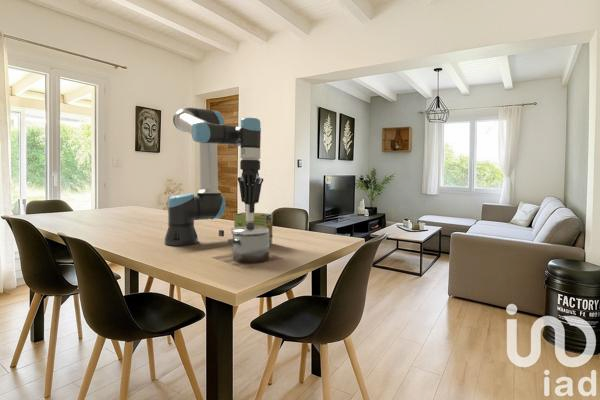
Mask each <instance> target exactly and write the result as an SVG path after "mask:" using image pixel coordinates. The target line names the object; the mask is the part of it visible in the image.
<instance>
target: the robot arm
mask: <svg viewBox="0 0 600 400" xmlns="http://www.w3.org/2000/svg"><path fill="white" fill-rule="evenodd" d="M172 121H173V122H172V123H173V125H174V127H175V128H176V129H177V130H179V131H180V132H182V133H188V134H190V135H191V138H192V140H193V142H196V143H199V145H198V146H199V187H200V188H199V189H198V191H197V192H196V196H195V195H194V193H181V194H174V195H171V196H169V198H168V200H167V215H168V217H167V219H168V220H167V221H168V222H167V223H168V224H167V225H168V226H167V230H166V233H165V236H164V245H167V246H176V247H177V246H191V245H194V244H197V243H198V242H199V237H198V234H197V231H196V228H195V221H201V220H214V219H215V220H217V219H220V218H222V217H223V215H224V214H225V211H226V198H225V196H224V195H222V192H221V191H220V190H219V178H218V177H219V175H218V174H219V173H218V171H219V169H218V164H219V163H218V144H220V145H230V146H235V147H240V160H239V161H240V162H239V165H240V166H239V167H240V168H239V169H240V170H242V171H241V176H240V177H239V176H238V177H237V182H238V185H239V193H240V198H241V199H240V200H241V202H242V203H244V205H245V208H244V212H246V221H254V213H255V205H256V204H258V203H259V201H260V195H261V192H262V191H261V189H262V184H263V183H264V178H262V177H260V174H259V171H260V170H261V160H260V159H261V140H262V139H261V138H262V136H261V135H262V134H261V131H262V128H261V120H260V119H259V118H257V117H243V118H241V119H240V124H239V125H230V124H229V125H228V124H225V119H224V117H223V115H222V113H221V112H220V111H217V110H212V109H204V108H198V107H197V108H196V107H183V108H180V109H178V110H177V111H175V113H174V115H173V118H172Z"/></svg>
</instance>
